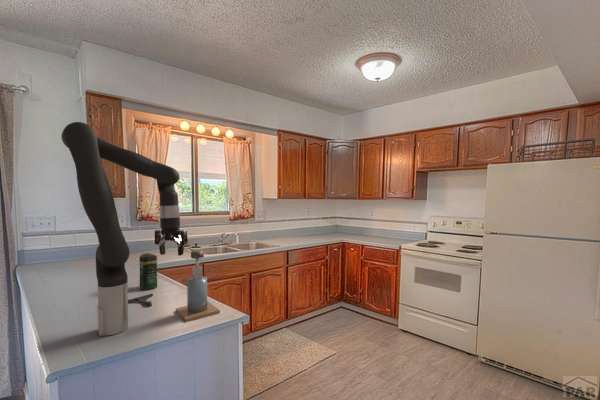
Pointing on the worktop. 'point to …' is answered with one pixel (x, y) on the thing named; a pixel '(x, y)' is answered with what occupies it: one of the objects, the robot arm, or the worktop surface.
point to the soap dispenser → (197, 298)
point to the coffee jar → (148, 271)
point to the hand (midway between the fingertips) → (171, 254)
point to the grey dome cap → (197, 256)
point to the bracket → (138, 300)
